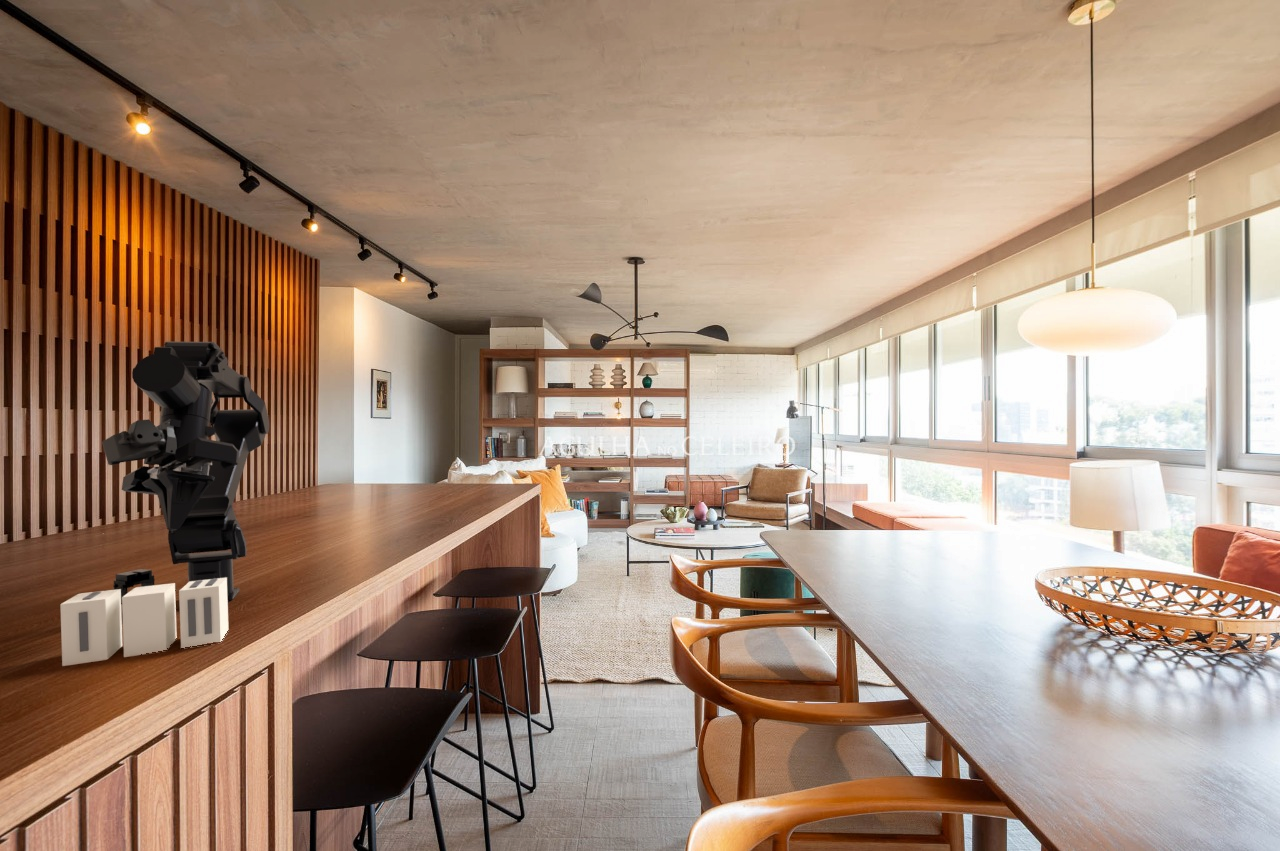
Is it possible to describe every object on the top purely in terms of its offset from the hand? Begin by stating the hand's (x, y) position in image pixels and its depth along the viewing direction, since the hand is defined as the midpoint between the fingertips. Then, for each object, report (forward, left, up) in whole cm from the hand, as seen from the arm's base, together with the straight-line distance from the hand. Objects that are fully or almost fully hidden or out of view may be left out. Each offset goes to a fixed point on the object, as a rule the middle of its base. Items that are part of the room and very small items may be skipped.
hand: (173, 529), depth 83 cm
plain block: (+8, -1, -13) cm, 16 cm away
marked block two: (+8, +5, -13) cm, 16 cm away
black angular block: (-22, -10, -14) cm, 28 cm away
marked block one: (+8, -6, -13) cm, 17 cm away
